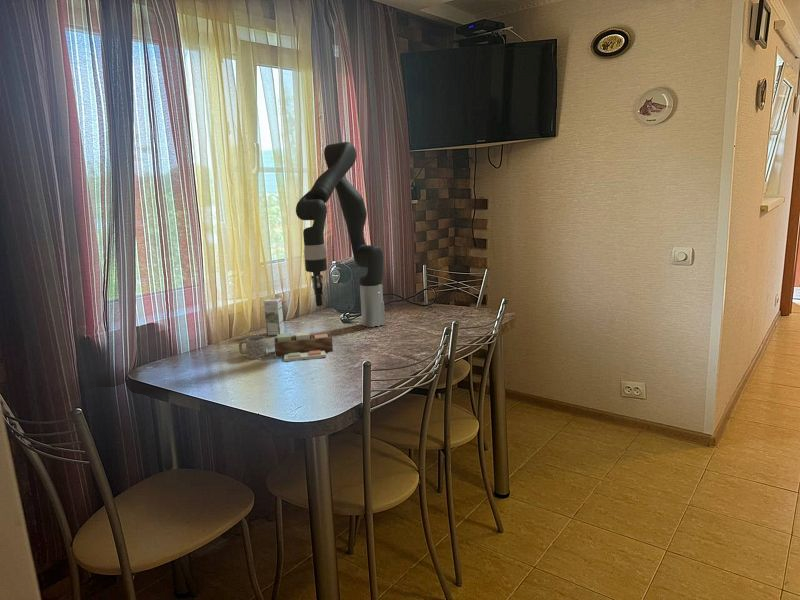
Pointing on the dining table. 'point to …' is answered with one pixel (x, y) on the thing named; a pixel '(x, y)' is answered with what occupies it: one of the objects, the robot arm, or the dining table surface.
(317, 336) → the terracotta key
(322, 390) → the dining table surface
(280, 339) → the sage key
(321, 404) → the dining table surface
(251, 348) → the mug
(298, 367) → the dining table surface
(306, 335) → the grey key
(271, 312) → the syrup box
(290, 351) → the brown wooden frame
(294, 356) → the card
